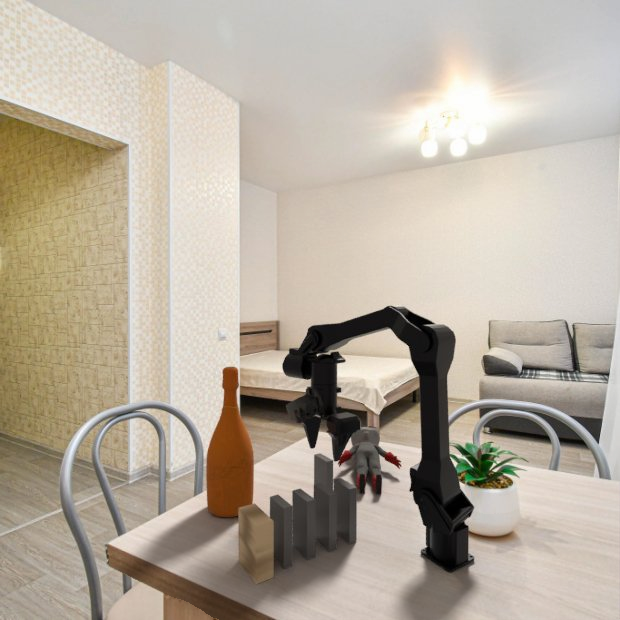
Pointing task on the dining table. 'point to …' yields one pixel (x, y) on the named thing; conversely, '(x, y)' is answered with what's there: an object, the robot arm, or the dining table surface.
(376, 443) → the toy
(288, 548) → the tile
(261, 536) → the end block
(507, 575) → the dining table surface
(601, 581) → the dining table surface
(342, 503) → the tile
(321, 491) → the tile
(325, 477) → the tile
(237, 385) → the wine bottle
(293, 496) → the tile
